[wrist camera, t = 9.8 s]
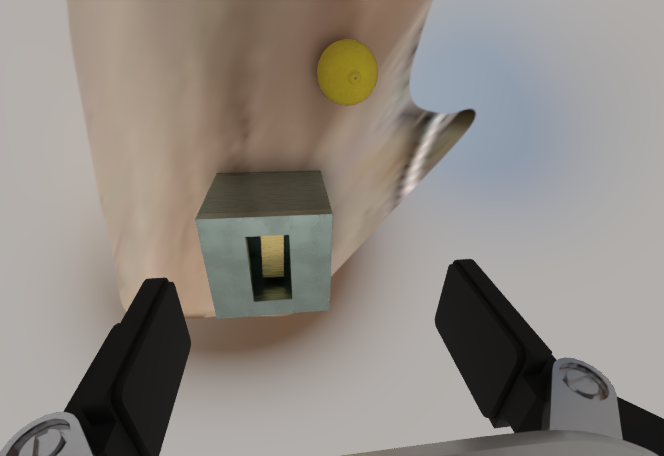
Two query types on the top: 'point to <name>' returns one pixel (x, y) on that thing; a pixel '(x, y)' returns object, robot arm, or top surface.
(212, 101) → the top surface
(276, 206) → the coin box
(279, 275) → the wooden block
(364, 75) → the lemon
